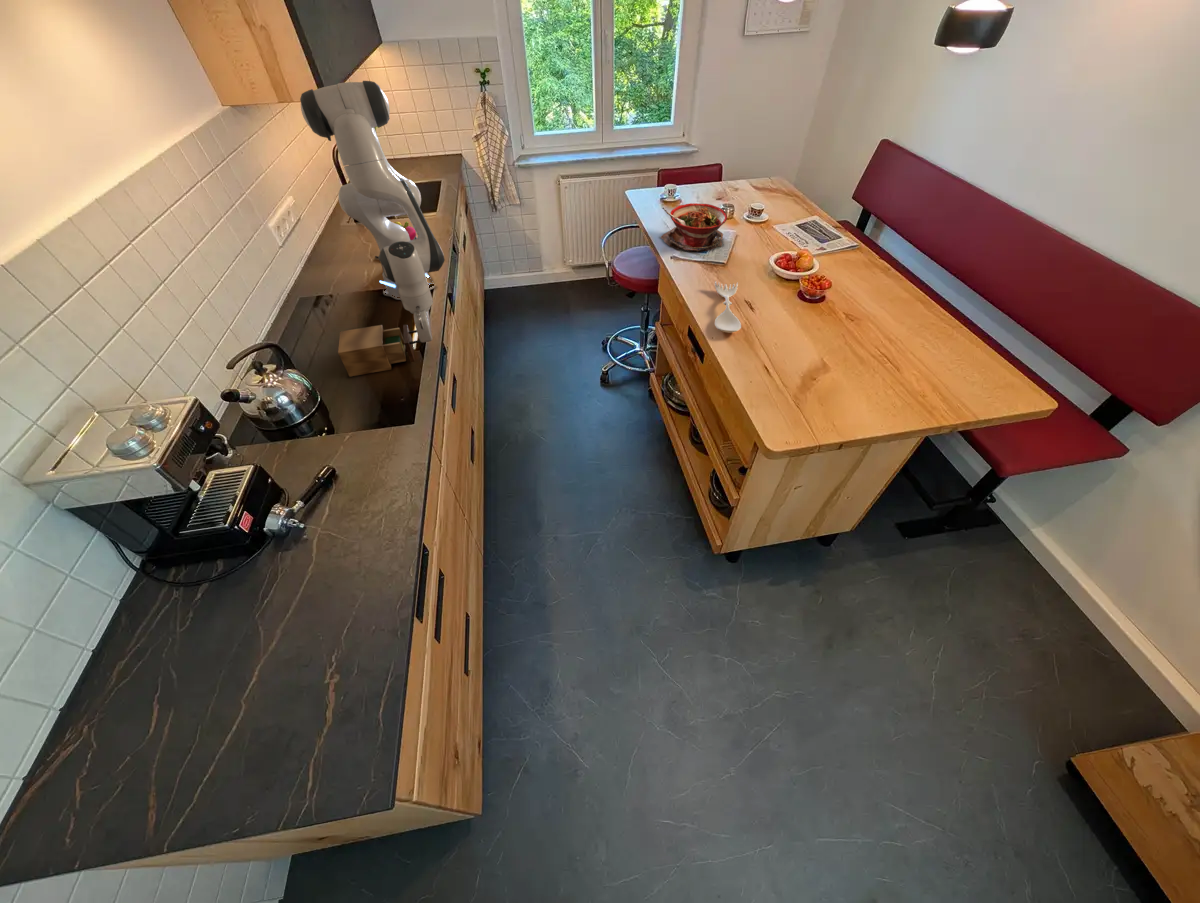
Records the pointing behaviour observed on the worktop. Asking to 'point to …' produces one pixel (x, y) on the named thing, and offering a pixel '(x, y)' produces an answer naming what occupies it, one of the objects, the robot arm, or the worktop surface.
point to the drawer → (399, 345)
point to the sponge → (393, 340)
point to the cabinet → (363, 350)
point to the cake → (409, 230)
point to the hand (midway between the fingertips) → (428, 337)
